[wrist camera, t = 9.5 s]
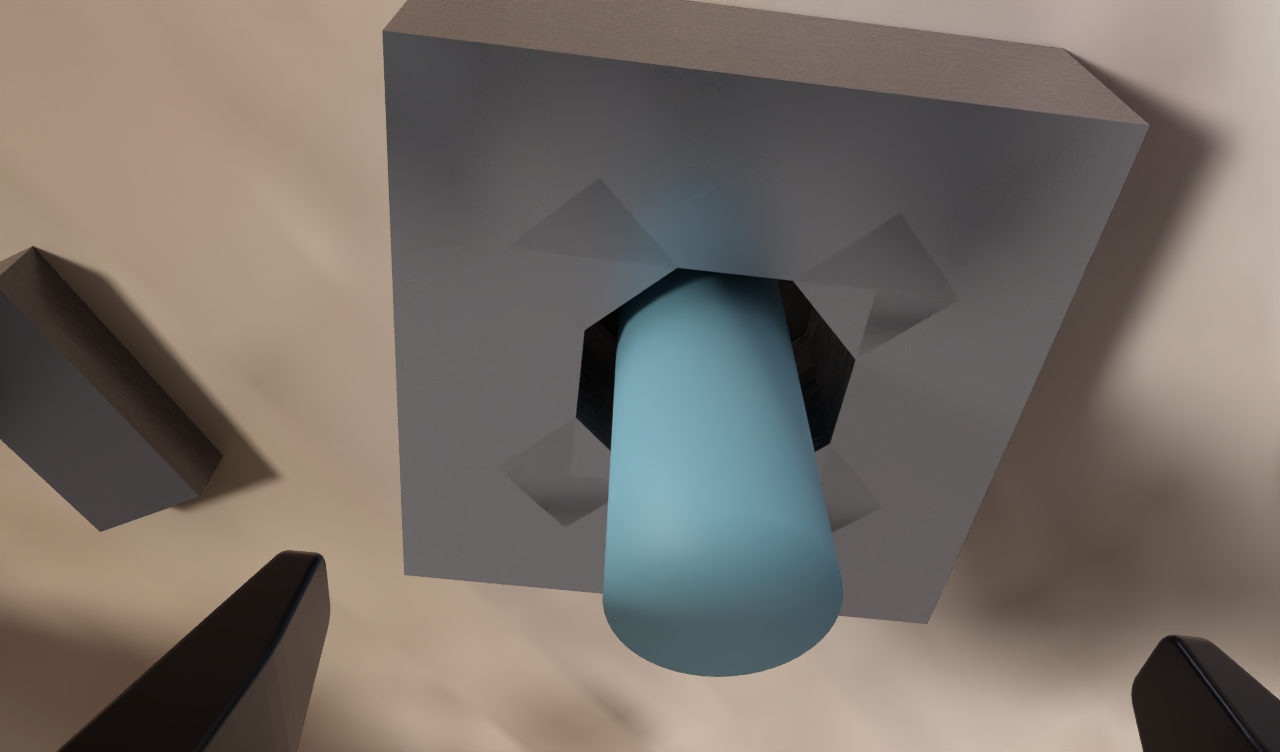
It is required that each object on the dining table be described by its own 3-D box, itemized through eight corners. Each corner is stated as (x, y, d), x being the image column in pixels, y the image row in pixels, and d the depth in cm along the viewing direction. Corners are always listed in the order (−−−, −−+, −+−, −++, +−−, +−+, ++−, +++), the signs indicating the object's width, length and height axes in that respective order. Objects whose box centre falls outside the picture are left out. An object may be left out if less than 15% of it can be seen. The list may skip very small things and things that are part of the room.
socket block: (892, 504, 19) (927, 624, 16) (438, 458, 18) (404, 575, 16) (1062, 48, 14) (1150, 125, 11) (433, -32, 13) (382, 30, 11)
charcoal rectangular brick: (229, 444, 19) (199, 496, 18) (135, 478, 19) (100, 531, 18) (43, 236, 16) (-8, 281, 15) (-59, 284, 17) (-116, 331, 16)
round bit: (759, 350, 17) (813, 684, 11) (613, 334, 17) (592, 666, 11) (789, 218, 15) (870, 527, 10) (629, 199, 15) (615, 502, 9)
